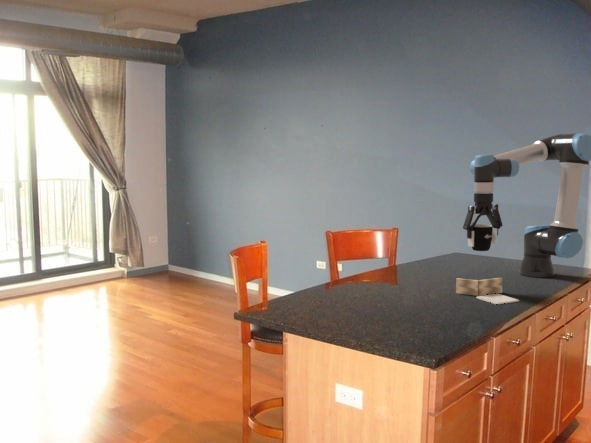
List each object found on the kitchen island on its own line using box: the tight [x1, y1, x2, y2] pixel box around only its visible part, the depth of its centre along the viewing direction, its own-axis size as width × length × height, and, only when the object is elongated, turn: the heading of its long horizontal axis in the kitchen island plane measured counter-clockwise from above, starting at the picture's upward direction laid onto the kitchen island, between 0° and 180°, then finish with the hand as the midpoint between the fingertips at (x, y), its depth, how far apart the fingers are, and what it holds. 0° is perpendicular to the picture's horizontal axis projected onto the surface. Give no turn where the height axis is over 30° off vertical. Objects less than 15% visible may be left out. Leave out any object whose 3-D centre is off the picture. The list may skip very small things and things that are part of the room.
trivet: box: [476, 293, 520, 305], centre depth 221 cm, size 11×11×1 cm
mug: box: [471, 223, 493, 252], centre depth 237 cm, size 12×9×10 cm
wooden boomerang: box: [455, 277, 504, 297], centre depth 232 cm, size 18×8×6 cm, turn 114°
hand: (482, 245), depth 238 cm, fingers closed on mug, 11 cm apart
